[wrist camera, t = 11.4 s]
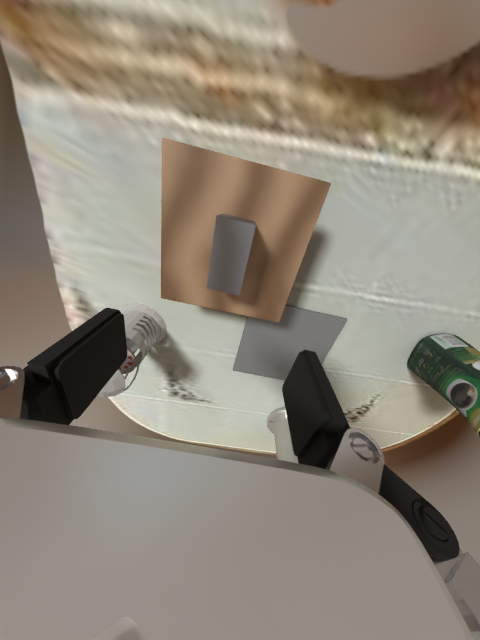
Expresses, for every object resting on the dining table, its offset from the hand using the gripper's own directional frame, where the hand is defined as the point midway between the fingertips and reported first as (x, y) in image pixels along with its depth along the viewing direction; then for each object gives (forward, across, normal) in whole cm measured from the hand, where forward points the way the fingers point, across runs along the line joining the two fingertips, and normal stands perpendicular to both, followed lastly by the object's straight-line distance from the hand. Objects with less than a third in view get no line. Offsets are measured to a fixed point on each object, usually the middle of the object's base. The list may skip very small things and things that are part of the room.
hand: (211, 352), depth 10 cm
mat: (+24, -14, +16) cm, 32 cm away
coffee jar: (+25, -42, +9) cm, 50 cm away
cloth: (+17, 0, -2) cm, 17 cm away
